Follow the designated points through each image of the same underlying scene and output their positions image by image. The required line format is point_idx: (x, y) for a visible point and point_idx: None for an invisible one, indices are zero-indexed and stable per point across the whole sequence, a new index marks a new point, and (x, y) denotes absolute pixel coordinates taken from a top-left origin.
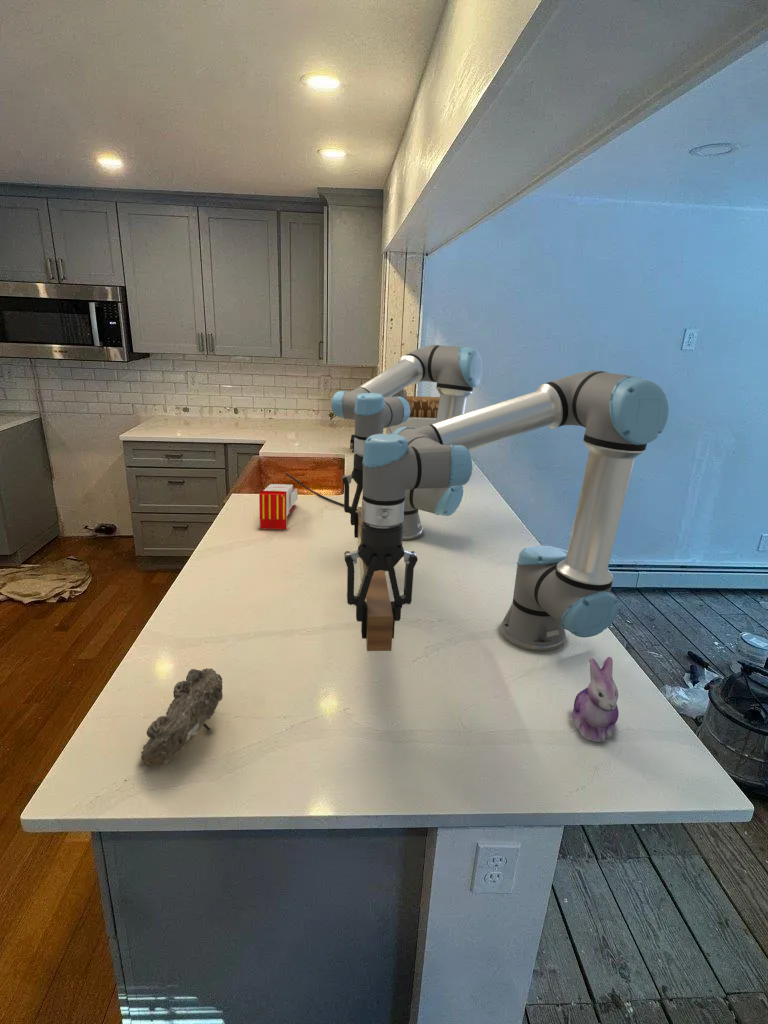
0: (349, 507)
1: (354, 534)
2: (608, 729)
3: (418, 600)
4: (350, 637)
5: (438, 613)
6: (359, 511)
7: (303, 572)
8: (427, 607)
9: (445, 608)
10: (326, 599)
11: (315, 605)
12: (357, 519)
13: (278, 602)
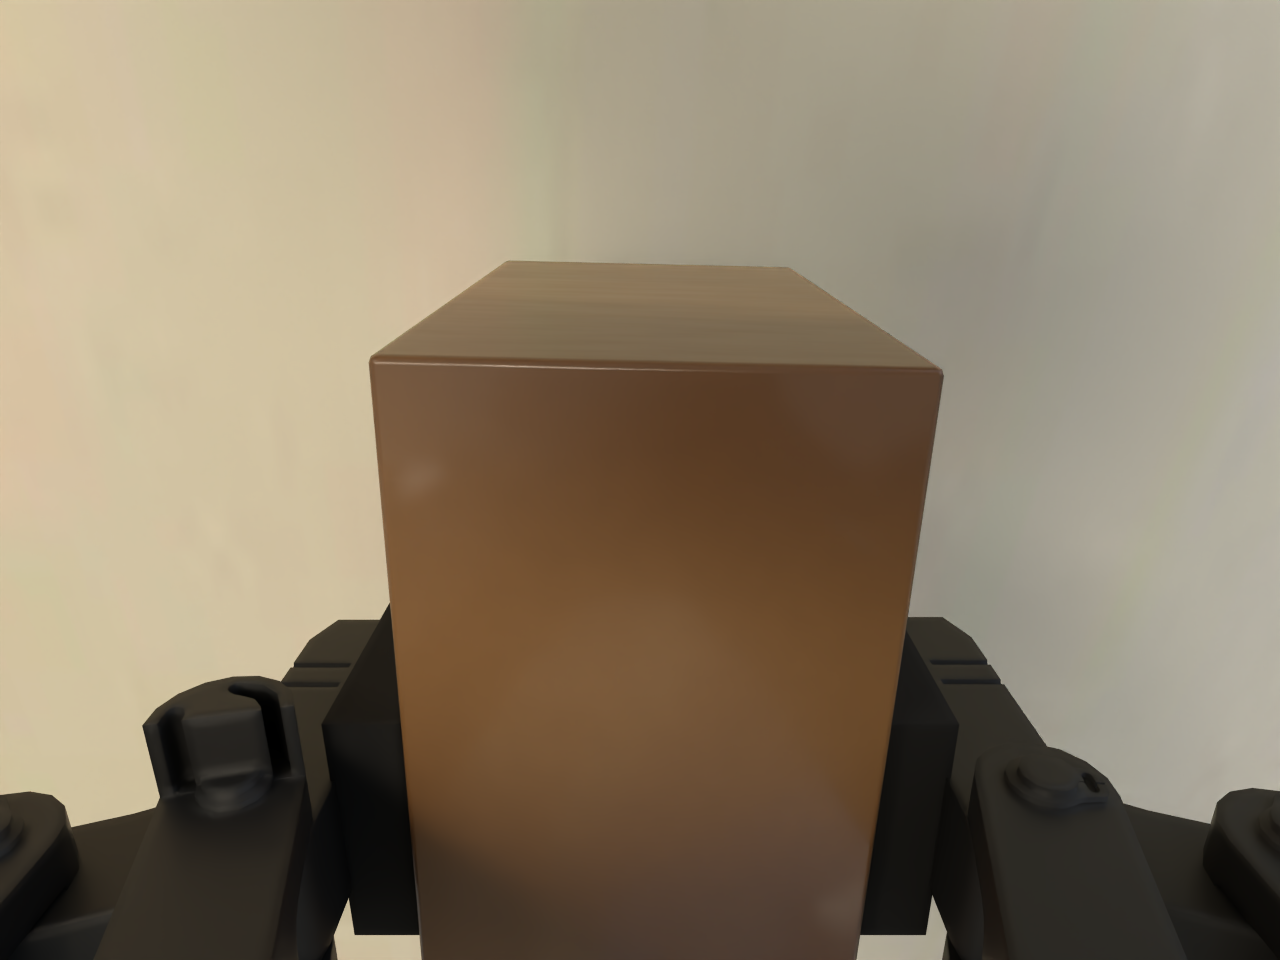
0: (80, 953)
1: None
2: None
3: (1017, 598)
4: None
5: (1093, 751)
6: (451, 772)
7: (73, 86)
8: (1048, 685)
9: (1165, 698)
10: (356, 573)
11: (290, 647)
12: None
13: (26, 605)
